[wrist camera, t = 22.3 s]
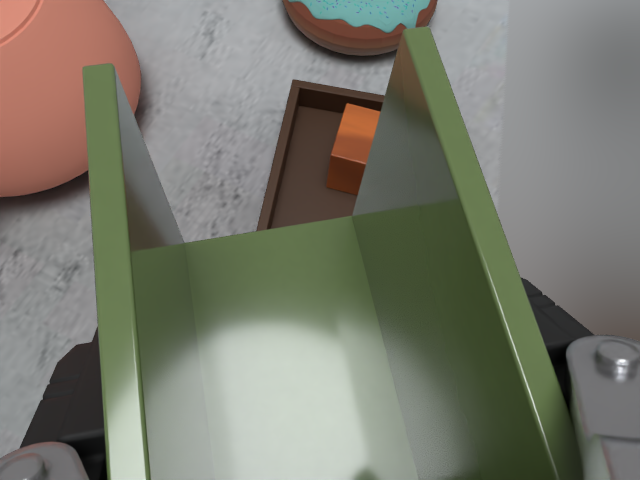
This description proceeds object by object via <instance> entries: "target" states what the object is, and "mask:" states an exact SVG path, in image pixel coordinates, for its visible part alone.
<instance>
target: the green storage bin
mask: <svg viewBox="0 0 640 480" xmlns="http://www.w3.org/2000/svg"><path fill="white" fill-rule="evenodd" d="M82 76H83V92H84V109H85V125H86V141H87V158H88V174H89V191H90V207H91V223H92V240H93V256H94V272H95V289H96V305H97V322H98V338H99V354H100V371H101V387H102V403H103V420H104V436H105V453H106V469H107V480H584V476H583V469H582V464H581V459H580V455H579V450H578V446H577V441H576V436H575V432H574V427H573V423H572V418H571V415H570V412H569V410H568V407H567V404H566V401H565V399H564V396H563V393H562V390H561V388H560V385H559V382H558V379H557V377H556V374H555V371H554V368H553V366H552V363H551V360H550V357H549V355H548V352H547V349H546V346H545V344H544V341H543V338H542V335H541V333H540V330H539V327H538V324H537V322H536V319H535V316H534V313H533V311H532V308H531V305H530V302H529V300H528V297H527V294H526V291H525V289H524V286H523V283H522V280H521V278H520V275H519V272H518V270H517V267H516V264H515V261H514V258H513V256H512V253H511V250H510V248H509V245H508V242H507V239H506V236H505V234H504V231H503V229H502V225H501V223H500V220H499V217H498V214H497V212H496V209H495V206H494V203H493V201H492V198H491V195H490V192H489V190H488V187H487V184H486V182H485V179H484V176H483V173H482V171H481V168H480V165H479V162H478V160H477V157H476V154H475V151H474V149H473V146H472V143H471V140H470V138H469V135H468V132H467V129H466V127H465V124H464V121H463V118H462V116H461V113H460V110H459V107H458V105H457V102H456V99H455V96H454V94H453V91H452V88H451V85H450V83H449V80H448V77H447V74H446V72H445V69H444V66H443V63H442V61H441V58H440V55H439V52H438V50H437V47H436V44H435V41H434V39H433V36H432V33H431V30H430V28H429V27H427V26H425V27H417V28H408V29H404V30H403V32H402V35H401V39H400V43H399V46H398V50H397V54H396V57H395V61H394V65H393V68H392V72H391V75H390V79H389V83H388V86H387V90H386V94H385V97H384V101H383V105H382V108H381V112H380V115H379V119H378V123H377V126H376V130H375V134H374V137H373V141H372V145H371V148H370V152H369V155H368V159H367V163H366V166H365V170H364V174H363V177H362V181H361V185H360V188H359V192H358V196H357V199H356V203H355V206H354V210H353V214H352V216H348V217H341V218H335V219H329V220H323V221H317V222H311V223H305V224H298V225H292V226H286V227H280V228H274V229H268V230H262V231H256V232H249V233H243V234H237V235H231V236H225V237H219V238H213V239H206V240H200V241H194V242H188V243H184V240H183V238H182V235H181V233H180V230H179V228H178V225H177V223H176V220H175V218H174V215H173V213H172V210H171V208H170V205H169V202H168V200H167V197H166V195H165V192H164V190H163V187H162V185H161V182H160V180H159V177H158V175H157V172H156V170H155V167H154V165H153V162H152V160H151V157H150V155H149V152H148V150H147V147H146V144H145V142H144V139H143V137H142V134H141V132H140V129H139V127H138V124H137V122H136V119H135V117H134V114H133V112H132V109H131V107H130V104H129V102H128V99H127V97H126V94H125V92H124V89H123V86H122V84H121V81H120V79H119V76H118V74H117V71H116V69H115V66H114V65H113V64H112V63H106V64H98V65H89V66H84V67H83V68H82Z"/></svg>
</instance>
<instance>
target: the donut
mask: <svg viewBox="0 0 640 480" xmlns="http://www.w3.org/2000/svg"><path fill="white" fill-rule="evenodd" d="M283 3H284V5H285V8H286V10H287V13H288V14H289V16H290V18H291V20H292V21H293V23H294V24H295V25H296V27H297V28H298V29H299V30H300V31H301V32H302V33H303V34H304V35H305V36H306V37H307V38H309V39H311V40H312V41H314V42H315V43H317V44H318V45H320V46H323V47H325V48H327V49H330V50H332V51H335V52H339V53H343V54H347V55H358V56H367V55H378V54H383V53H387V52H391V51H393V50H396V49H398V46H399V43H400V39H401V35H402V32H403V30H404V29H408V28H417V27H425V26H426V25H427V24H428V22H429V21H430V19H431V17H432V15H433V13H434V12H435V9H436V5H437V0H283Z"/></svg>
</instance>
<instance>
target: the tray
mask: <svg viewBox="0 0 640 480" xmlns="http://www.w3.org/2000/svg"><path fill="white" fill-rule="evenodd" d="M384 97H385V96H384V95H378V94H372V93H367V92H361V91H356V90H350V89H344V88H339V87H333V86H327V85H322V84H316V83H311V82H305V81H299V80H292V85H291V89H290V93H289V97H288V101H287V105H286V110H285V114H284V118H283V122H282V126H281V130H280V135H279V139H278V143H277V147H276V151H275V155H274V160H273V164H272V168H271V172H270V176H269V181H268V185H267V189H266V193H265V197H264V201H263V206H262V210H261V214H260V218H259V222H258V226H257V231H262V230H268V229H274V228H280V227H286V226H292V225H298V224H305V223H311V222H317V221H323V220H329V219H335V218H341V217H348V216H352V214H353V210H354V206H355V203H356V199H357V196H358V195H354V194H350V193H347V192H343V191H339V190H335V189H332V188H328V187H326V183H327V176H328V169H329V162H330V155H331V152H332V148H333V145H334V142H335V139H336V135H337V132H338V129H339V126H340V122H341V119H342V116H343V113H344V109H345V106H346V104H347V103H349V104H353V105H356V106H360V107H364V108H368V109H372V110H376V111H380V112H381V108H382V105H383V101H384Z"/></svg>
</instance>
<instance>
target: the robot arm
mask: <svg viewBox="0 0 640 480" xmlns="http://www.w3.org/2000/svg"><path fill="white" fill-rule="evenodd" d="M520 278H521V277H520ZM521 280H522V283H523V286H524V289H525V291H526V294H527V297H528V300H529V302H530V305H531V308H532V311H533V313H534V316H535V319H536V322H537V324H538V327H539V330H540V333H541V335H542V338H543V341H544V344H545V346H546V349H547V352H548V355H549V357H550V360H551V363H552V366H553V368H554V371H555V374H556V377H557V379H558V382H559V385H560V388H561V390H562V393H563V396H564V399H565V401H566V404H567V407H568V410H569V412H570V415H571V418H572V423H573V427H574V432H575V436H576V441H577V446H578V450H579V455H580V459H581V464H582V469H583V476H584V480H640V342H639V341H636V340H633V339H629V338H625V337H620V336H614V335H594V334H592V333H591V332H590V331H589V330H588V329H586V328H585V327H584V326H583V325H582V324H580V323H579V322H578V321H577V320H575V319H574V318H573V317H572V316H571V315H569V314H568V313H567V312H566V311H564V310H563V309H562V308H561V307H559V306H555V303H554V302H553V301H552V300H551V299H550V298H548V297H547V296H546V295H542V292H541V291H540V290H538V289H537V288H536V287H535V286H533V285H532V284H531V283H530V282H529V281H528V280H526V279H523V278H521ZM0 480H107V469H106V453H105V436H104V420H103V403H102V387H101V371H100V354H99V338H98V327H97V329H96V332H95V335H94V338H93V340H92V342H90V343H84V344H78V345H76V346H75V347H74V348H72V349H71V350H70V351H69V352H68V353H67V354H66V355H65V356H64V357H63V358H62V359H61V360H60V361H59V362H58V363H57V365H56V367H55V370H54V372H53V374H52V376H51V379H50V384H48V385H47V388H46V390H45V392H44V394H43V400H41V401H40V403H39V406H38V408H37V410H36V412H35V415H34V417H33V419H32V421H31V423H30V426H29V428H28V430H27V432H26V435H25V437H24V439H23V441H22V444H21V446H20V448H19V449H18V450H15V451H13V452H11V453H9V454H7V455H5V456H3V457H2V458H0Z"/></svg>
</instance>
